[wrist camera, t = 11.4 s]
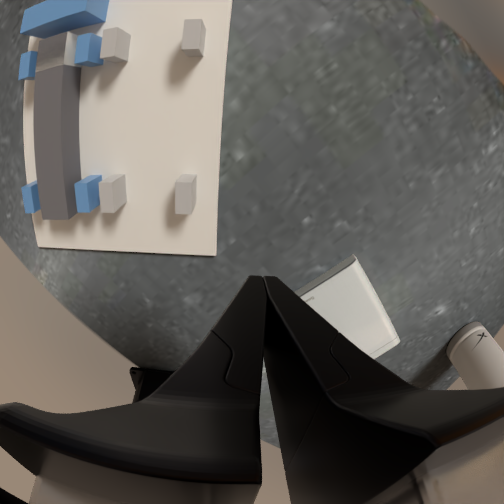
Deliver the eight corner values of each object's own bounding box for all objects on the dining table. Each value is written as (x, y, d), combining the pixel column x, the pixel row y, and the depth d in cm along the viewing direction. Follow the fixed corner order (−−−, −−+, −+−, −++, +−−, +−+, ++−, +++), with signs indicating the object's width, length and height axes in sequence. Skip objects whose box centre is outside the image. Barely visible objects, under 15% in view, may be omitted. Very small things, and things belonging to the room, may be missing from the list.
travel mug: (468, 314, 27) (552, 437, 9) (486, 326, 29) (559, 430, 11) (436, 352, 30) (504, 478, 12) (458, 359, 31) (518, 467, 13)
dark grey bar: (84, 207, 19) (68, 219, 17) (59, 208, 19) (42, 219, 17) (84, 37, 13) (67, 31, 11) (57, 45, 13) (39, 40, 11)
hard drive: (270, 314, 24) (335, 381, 28) (358, 259, 22) (402, 343, 26) (269, 302, 25) (331, 370, 30) (351, 250, 23) (396, 333, 28)
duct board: (216, 253, 22) (213, 279, 19) (40, 244, 21) (18, 264, 17) (234, -16, 13) (233, -39, 10) (36, 19, 12) (10, 12, 9)
